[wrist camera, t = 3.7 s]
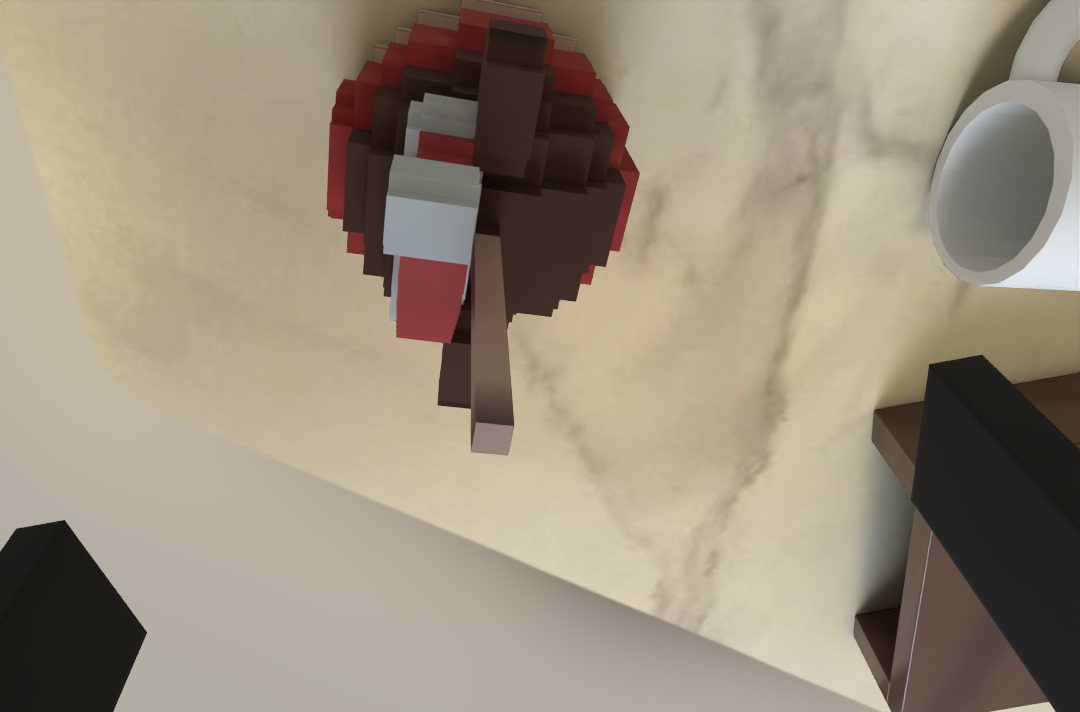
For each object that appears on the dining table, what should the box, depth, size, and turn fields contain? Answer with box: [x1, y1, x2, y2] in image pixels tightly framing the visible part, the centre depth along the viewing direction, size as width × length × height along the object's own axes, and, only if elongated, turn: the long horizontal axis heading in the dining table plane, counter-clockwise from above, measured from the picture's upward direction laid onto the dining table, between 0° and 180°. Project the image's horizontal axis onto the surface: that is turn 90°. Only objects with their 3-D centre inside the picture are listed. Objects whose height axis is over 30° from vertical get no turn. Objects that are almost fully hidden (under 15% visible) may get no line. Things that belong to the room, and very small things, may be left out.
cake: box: [327, 0, 640, 455], centre depth 21 cm, size 11×9×18 cm
